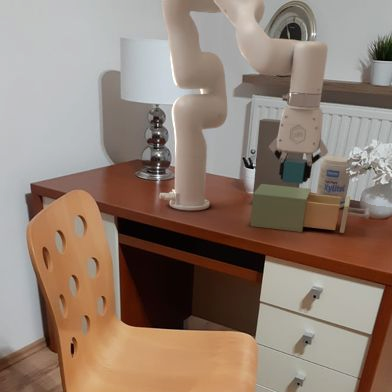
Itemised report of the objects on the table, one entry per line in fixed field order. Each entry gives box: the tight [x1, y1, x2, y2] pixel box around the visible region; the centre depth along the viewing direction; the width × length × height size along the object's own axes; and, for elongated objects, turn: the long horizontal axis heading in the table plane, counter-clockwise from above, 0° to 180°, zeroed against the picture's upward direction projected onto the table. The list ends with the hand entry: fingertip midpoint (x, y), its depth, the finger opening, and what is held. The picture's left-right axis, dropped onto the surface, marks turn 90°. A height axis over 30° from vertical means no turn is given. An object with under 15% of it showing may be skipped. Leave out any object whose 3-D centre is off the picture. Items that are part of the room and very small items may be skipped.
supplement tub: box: [315, 155, 351, 209], centre depth 167 cm, size 10×10×15 cm
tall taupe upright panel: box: [251, 118, 305, 204], centre depth 163 cm, size 14×6×25 cm, turn 68°
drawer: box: [303, 193, 370, 234], centre depth 146 cm, size 19×11×7 cm, turn 74°
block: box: [282, 158, 307, 185], centre depth 132 cm, size 5×5×5 cm
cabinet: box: [250, 184, 312, 233], centre depth 150 cm, size 15×13×9 cm
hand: (294, 178), depth 133 cm, fingers closed on block, 5 cm apart
